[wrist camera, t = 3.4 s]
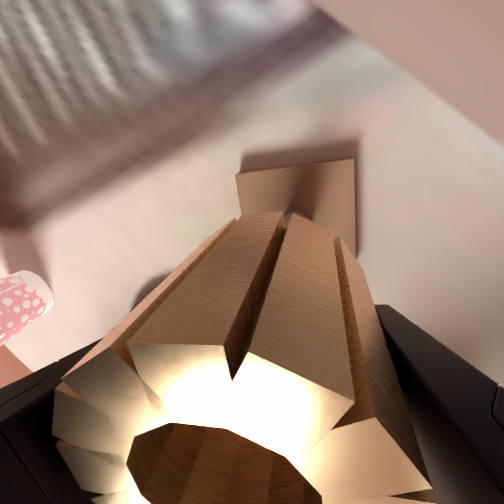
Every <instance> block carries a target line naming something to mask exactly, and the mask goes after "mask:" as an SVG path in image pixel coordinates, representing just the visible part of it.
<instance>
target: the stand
mask: <svg viewBox="0 0 504 504" xmlns="http://www.w3.org/2000/svg"><path fill="white" fill-rule="evenodd" d="M235 178H236V184H237V190H238V196H239V202H240V208H241V214H242V215H249V214H259V213H270V212H281V211H283V214H284V223H285V228H286V226H287V224H288V222H289V220H290V218H291V216H292V213H294V214H296V215H299V216H301V217H303V218H305V219H308V220H310V221H312V222H315V223H317V224H319V225H321V226H324V227H326V228H328V229H330V230H332V234H333V240H334V239H336V238H337V237H339V236H340V238H341V239H342V241H343V242H344V243H345V245H346V246H347V248H348V249H349V250H350V252H351V253H352V255H353V256H354V257H355V259H356V244H355V179H354V158H352V157H351V158H344V159H336V160H329V161H322V162H314V163H307V164H299V165H292V166H284V167H277V168H269V169H262V170H254V171H247V172H239V173H237V174H235Z"/></svg>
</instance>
